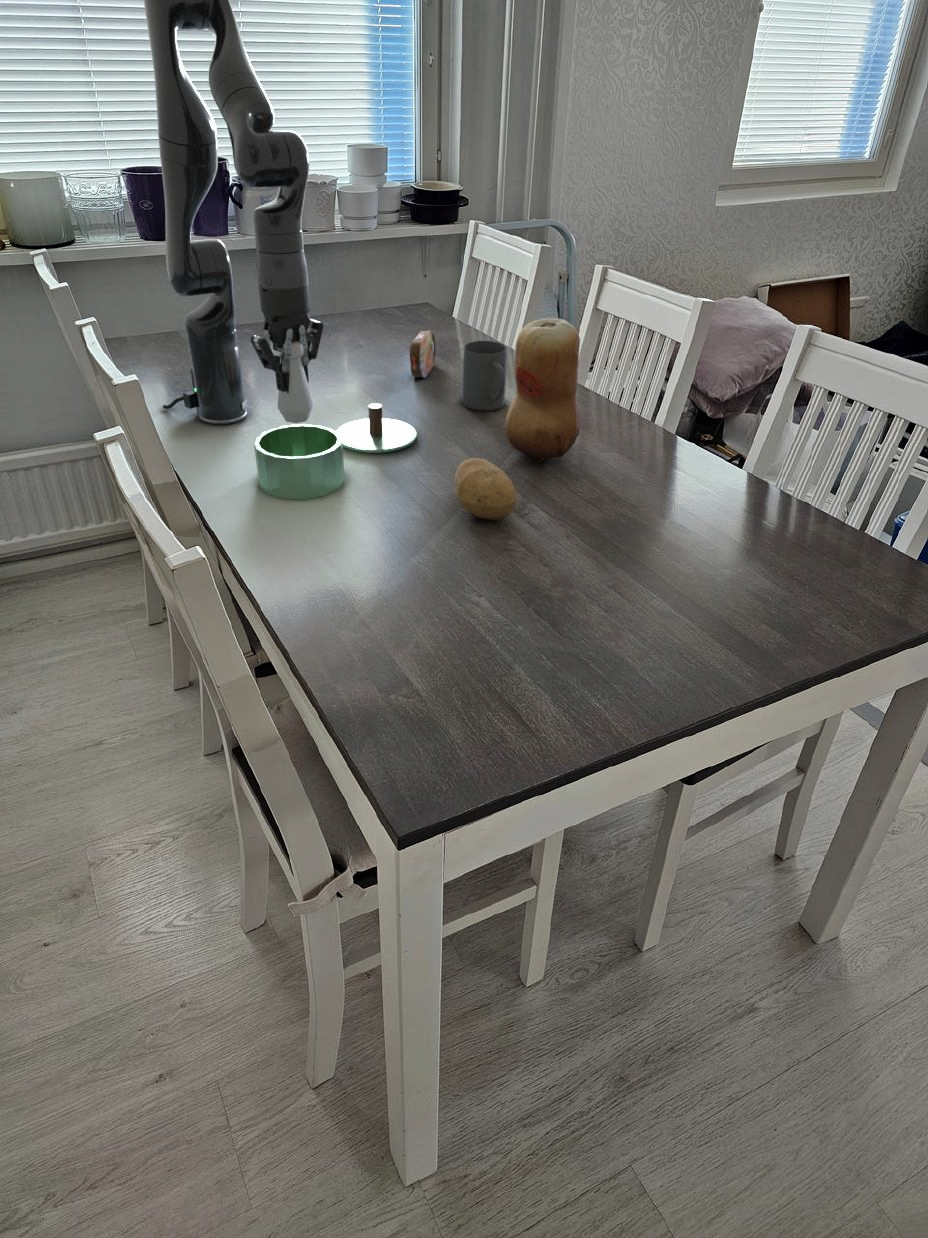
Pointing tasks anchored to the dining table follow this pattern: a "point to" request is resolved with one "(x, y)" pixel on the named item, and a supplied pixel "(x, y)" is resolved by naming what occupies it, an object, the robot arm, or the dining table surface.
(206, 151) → the robot arm
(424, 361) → the tin
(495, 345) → the mug
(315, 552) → the dining table surface
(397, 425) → the pot lid
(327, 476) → the pot
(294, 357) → the salt shaker
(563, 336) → the butternut squash
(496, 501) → the potato
